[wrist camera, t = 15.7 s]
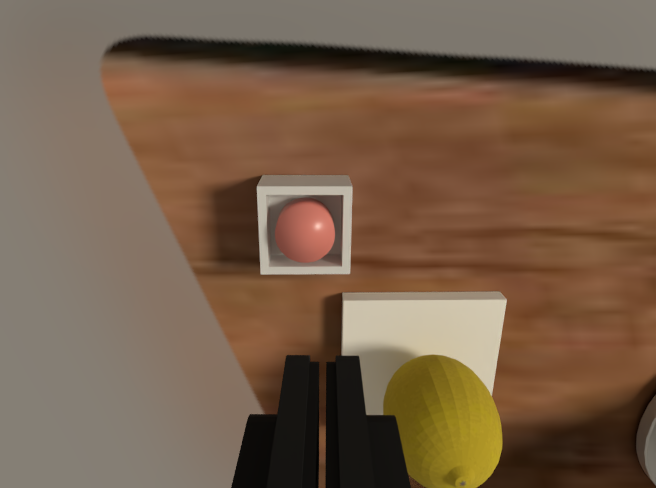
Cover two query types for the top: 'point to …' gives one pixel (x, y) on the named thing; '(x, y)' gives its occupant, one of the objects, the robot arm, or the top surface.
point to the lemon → (444, 422)
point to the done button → (305, 230)
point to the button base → (289, 187)
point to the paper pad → (420, 333)
